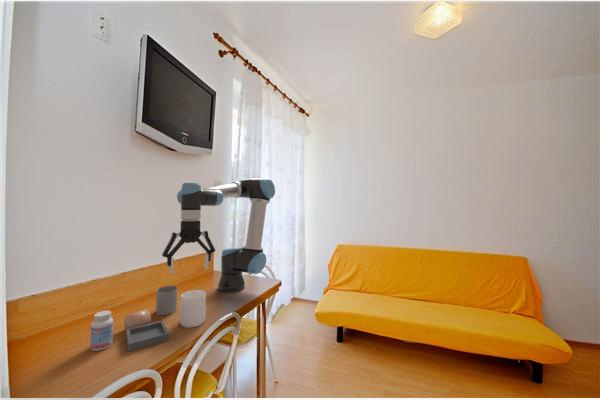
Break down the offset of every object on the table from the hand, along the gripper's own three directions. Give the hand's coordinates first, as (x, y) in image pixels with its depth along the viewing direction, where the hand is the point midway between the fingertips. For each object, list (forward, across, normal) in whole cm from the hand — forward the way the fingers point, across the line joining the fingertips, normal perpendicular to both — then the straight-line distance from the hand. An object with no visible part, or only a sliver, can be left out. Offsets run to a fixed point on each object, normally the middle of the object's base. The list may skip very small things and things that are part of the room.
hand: (189, 271), depth 105 cm
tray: (+21, +15, +5) cm, 26 cm away
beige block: (+21, +17, -6) cm, 28 cm away
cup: (+21, +5, -16) cm, 27 cm away
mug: (+21, -1, +1) cm, 21 cm away
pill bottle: (+21, +28, +2) cm, 35 cm away
